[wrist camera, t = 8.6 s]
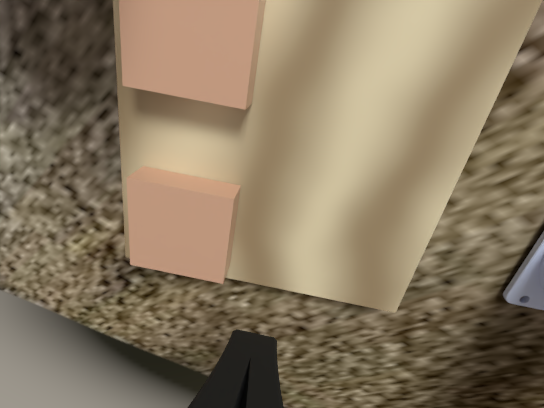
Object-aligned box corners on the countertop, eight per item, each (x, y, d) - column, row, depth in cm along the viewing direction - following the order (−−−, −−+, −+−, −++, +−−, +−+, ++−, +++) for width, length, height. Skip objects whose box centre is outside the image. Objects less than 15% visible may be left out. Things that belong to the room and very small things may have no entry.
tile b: (234, 199, 14) (126, 177, 15) (223, 283, 17) (130, 264, 17) (241, 185, 16) (143, 165, 16) (230, 264, 18) (144, 246, 18)
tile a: (265, -47, 10) (115, -74, 10) (245, 109, 13) (122, 86, 13) (270, -35, 12) (139, -59, 12) (252, 103, 14) (142, 81, 14)
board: (524, -12, 13) (551, -19, 11) (389, 293, 20) (395, 312, 18) (130, -83, 13) (107, -100, 12) (138, 241, 20) (125, 256, 19)
